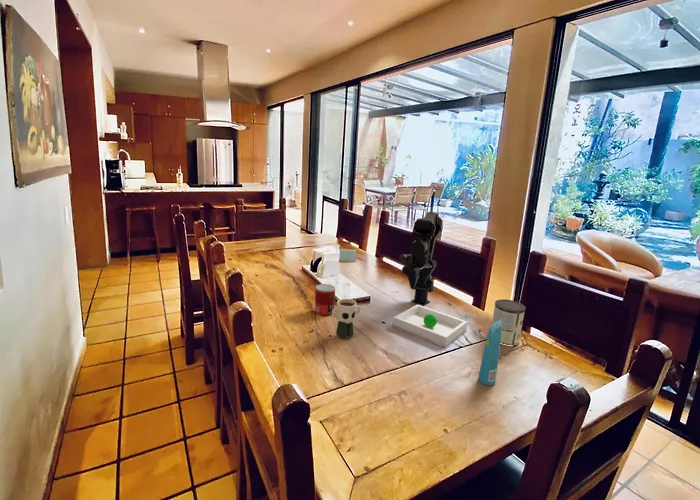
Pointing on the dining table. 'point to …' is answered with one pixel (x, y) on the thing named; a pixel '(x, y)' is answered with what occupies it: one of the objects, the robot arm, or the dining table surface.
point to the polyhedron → (430, 320)
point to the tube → (491, 355)
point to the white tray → (439, 334)
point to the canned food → (324, 299)
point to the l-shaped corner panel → (347, 255)
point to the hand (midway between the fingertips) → (417, 286)
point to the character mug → (345, 317)
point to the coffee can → (509, 320)
